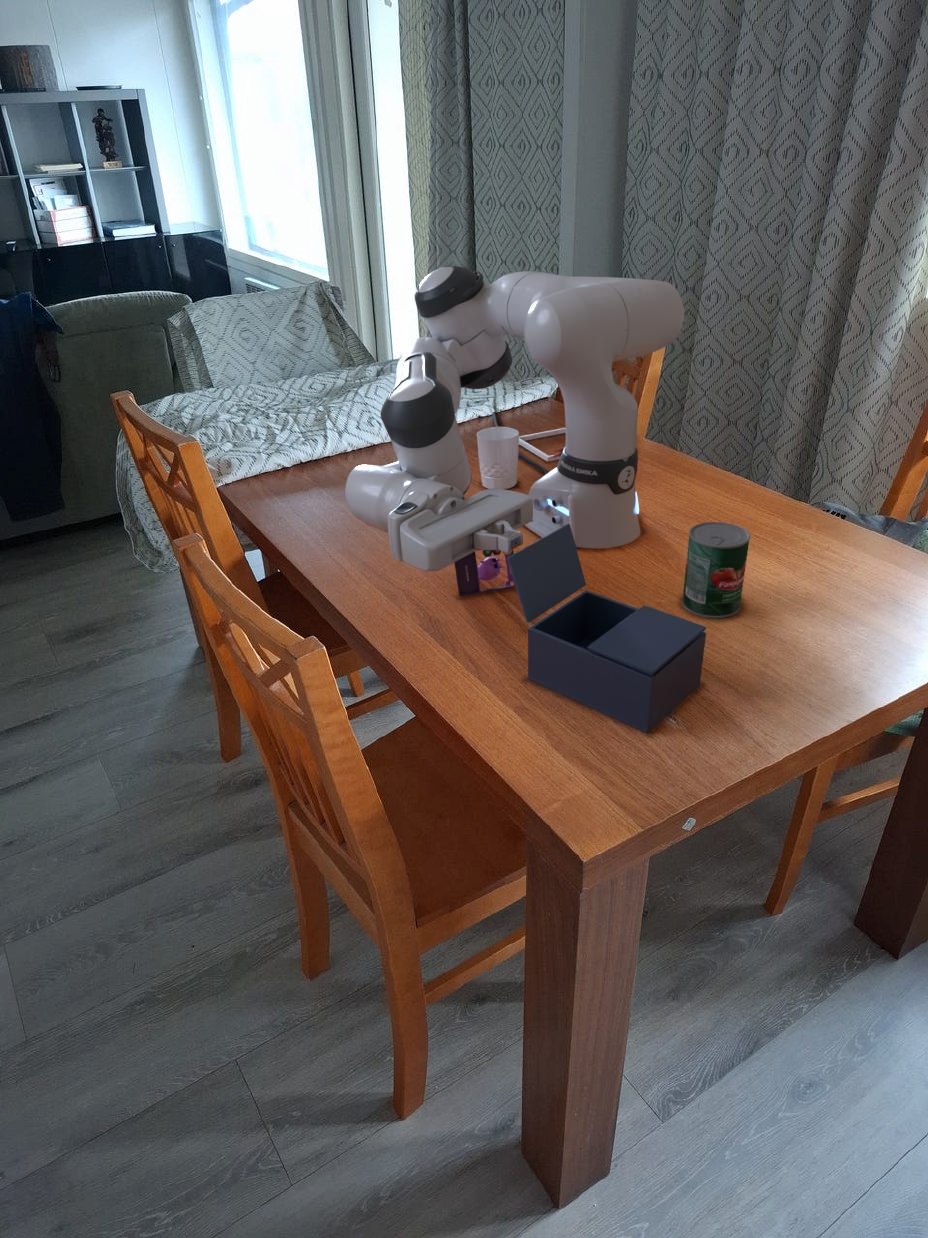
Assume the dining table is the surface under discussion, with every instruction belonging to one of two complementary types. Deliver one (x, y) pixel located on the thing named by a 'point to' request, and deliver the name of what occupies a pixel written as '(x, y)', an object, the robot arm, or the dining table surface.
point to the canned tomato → (715, 569)
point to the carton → (617, 658)
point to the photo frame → (539, 435)
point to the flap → (546, 572)
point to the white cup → (498, 456)
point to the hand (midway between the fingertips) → (515, 542)
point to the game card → (480, 572)
